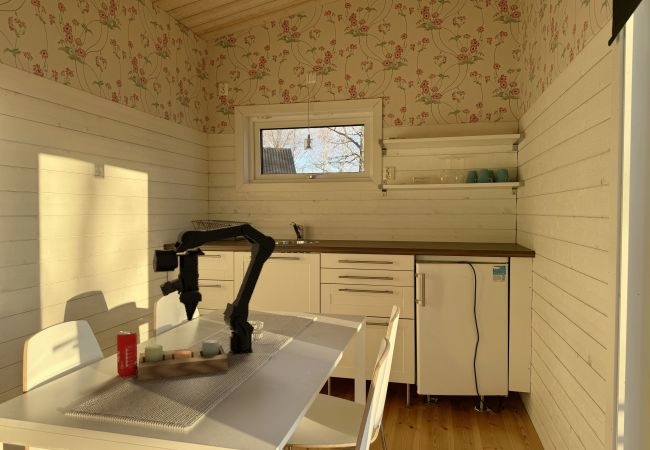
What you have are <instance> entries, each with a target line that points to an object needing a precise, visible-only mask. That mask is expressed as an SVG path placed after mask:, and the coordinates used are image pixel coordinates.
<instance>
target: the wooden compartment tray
mask: <svg viewBox="0 0 650 450" xmlns="http://www.w3.org/2000/svg"><path fill="white" fill-rule="evenodd" d="M178 351H191V358H184V359H174V353H175V352H178ZM228 364H229V362H228V357H227V355H226V352H225V350H224V348H223V346H222V345H219V355H213V356H204V357H203V356H202V346H201V347H193V348H192V347H191V348H181V349H171V350H163V361H155V362H145V352H142V353H139V357H138V363H137V380H138V381H143V380H153V379H162V378H163V379H164V378H170V377H171V378H172V377H178V376H179V377H180V376H187V375H188V376H189V375H196V374H204V373H206V374H207V373H216V372H222V371H223V372H224V371H228V370H229V369H228Z"/></svg>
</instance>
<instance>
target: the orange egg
mask: <svg viewBox="0 0 650 450" xmlns="http://www.w3.org/2000/svg"><path fill="white" fill-rule="evenodd" d="M184 358H191V351H178V352H175V353H174V359H184Z"/></svg>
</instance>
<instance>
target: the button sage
mask: <svg viewBox="0 0 650 450" xmlns="http://www.w3.org/2000/svg"><path fill="white" fill-rule="evenodd" d="M163 349H164V348H163V345H161V344H152V345H147V346H145V347H144V353H145V362H155V361H163V351H164V350H163Z"/></svg>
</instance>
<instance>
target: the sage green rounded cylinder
mask: <svg viewBox="0 0 650 450" xmlns="http://www.w3.org/2000/svg"><path fill="white" fill-rule="evenodd" d="M201 345H202V346H201V347H202V356H203V357H204V356H213V355H219V346H220V341H219V340H217V339H207V340H203V341H202V342H201Z"/></svg>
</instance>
